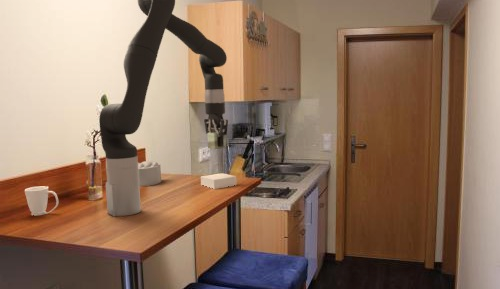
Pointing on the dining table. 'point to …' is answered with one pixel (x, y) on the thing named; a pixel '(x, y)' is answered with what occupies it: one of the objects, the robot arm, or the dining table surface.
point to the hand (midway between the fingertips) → (216, 145)
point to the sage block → (215, 141)
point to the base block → (218, 180)
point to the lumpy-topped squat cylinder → (149, 173)
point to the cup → (39, 199)
